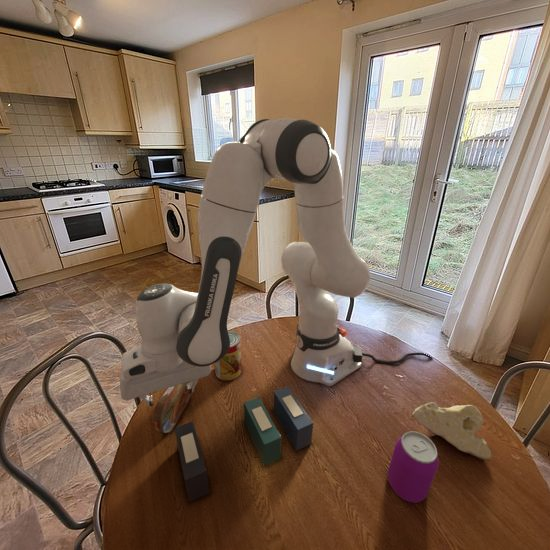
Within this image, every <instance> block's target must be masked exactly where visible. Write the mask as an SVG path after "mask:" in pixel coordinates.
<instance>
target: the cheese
mask: <svg viewBox="0 0 550 550" xmlns="http://www.w3.org/2000/svg"><path fill="white" fill-rule="evenodd" d="M437 403H439V401H438V400H437V401H435V402H434V401H430V402H427V403H425V404H422V405H420V406H419V407H415V409H414V410H413V411H412V413H411V417H412V418H413V419H414V420H415V422H416V423H417V424H419V425H420V426H422V427H423V428H425V429H426V430H427V432H428V434H429V436H432V437H433V436H440V437H441V438H442V439H444V440H445V441H446V442H447V443H449V444H451V445H452V447H455V448H456V449H457V450H458V451H460V452H463V453H466V454H470V455H471V456H474V457H477V458H478V459H480V460H489V459H491V458H492V454H491V449H490V447H489V446H488V445H489V444H488V443H487V441H486V440H485V438H483V437H481V436H476V434H477V432H478V431H479V430H480V429H481V428H482V426H483V420H484V419H483V418H484V417H483V415H482V413H481V412H480V410H479V409H478V408H477V407H476V406H475V405H473V404H466V405H462V404H461V405H457V404H456V405H453V406H451V407H440V406H439V405H438V404H437Z"/></svg>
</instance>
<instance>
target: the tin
mask: <svg viewBox="0 0 550 550" xmlns="http://www.w3.org/2000/svg"><path fill="white" fill-rule="evenodd" d="M189 383H190V381H189V382H186V383H183V384H180V385H176V386H173V387H170V388H166V389H164V390H165V391H164V392H163V394H162V395H161V396H160V398H159V399H158V401H157V402H156V404H155V405H154V406H155V407H154V409H153V413H152V418H151V421H152V425H153V428H154V430H155V431H156V432H158V433H162V434H169V433H171V432H172V430H173V429H175V426H176V424H177V422H178V421H179V419H180V417H181V415H182V414H183V412H184V410H185V409H186V407H187V405H188V404H189V402H190V399H191V396H192V393H189V394H188V392H187V387H186V385H187V384H189Z"/></svg>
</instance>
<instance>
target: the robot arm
mask: <svg viewBox="0 0 550 550" xmlns="http://www.w3.org/2000/svg"><path fill="white" fill-rule="evenodd" d="M272 179H276V180H284V181H288V182H290V183H292V185H293V188H294V201H295V212H296V221H297V229H298V232H299V234H300V236H301V237H302V238H303V240H305V241H292V242H290V243H289V244H288V245H287V246H286V247H285V248H284V250H283V252H282V255H281V259H280V260H281V261H280V263H281V267H282V270H283V271H284V272H285V274H286V275H287V276H288V278H289V279H290V281H291V283H292V285H293V287H294V291H295V294H296V297H297V302H298V323H297V325H296V335H295V336H296V337H295V340H296V341H295V343H296V344H295V349H294V353H293V354H292V355H293V356H292V358H291V360H290V366H291V369H292V371H293V372H294V374H296V376H298V377H299V378H300V379H303V380H305V381H307V382H313V383H320V384H321V385H325V386H329V387H331V386H333V385H336V384H337V383H338V382H340V381H341V380H343V379H344V378H346V377H347V376H348V375H350V374H352V373H353V372H355V371H357V370H358V369H360V368H361V367H362V361H363V357H368V358H371V359H372V361H373V362H376V363H381V364H387V365H388V364H391V365H392V364H399V363H401V362H403V361H404V360H405V359H406V358H408V357H411V356H424V357H427V358H428V359H430V360H433V359H434V358H433V357H432V356H431V355H430V354H428V353H426V352H409V353H406V354H403V356H402V357H401V358H400V359H396V360H382V359H378V358H375V357H374V355H372V354H370V353H364V352H362V349H361V346H359V345H353V343H352V342H351V341H350V340H349V339H348V338H346V337H347V335H348V331H347V330H345V329H344V328H340V326H339V325H338V319H339V305H338V303H337V301H336V300H335V298H334V297H333V296H332V295H331V294H333V295H336V296H339V297H345V298H352V299H354V298H356V297H359V296H360V295H362V294H363V293H364V292H365V291H366V290H367V288H368V286H369V284H370V281H371V269H370V267H369V264H368V263H367V261H365V260H364V259H363V258H362V257H361V255H359V253H358V252H357V250H356V249H355V248H354V246H353V244H352V242H351V240H350V238H349V236H348V233H347V232H348V231H347V230H346V229H347V228H346V223H345V210H344V209H345V208H344V203H345V202H344V201H345V200H344V180H343V173H342V167H341V162H340V158H339V155H338V153H337V152H336V151H335V150H334V149H333V148H332V146H331V142H330V139H329V137H328V134H327V132H326V131H325V129H324V128H323V127H322V126H320V125H319V124H317V123H315V122H313V121H311V120H308V119H298V118H291V117H278V118H271V119H269V118H264V119H263V118H262V119H259V120H258V121H255V122H253V123H252V124H251V125H250V126H249V127H247V128H246V130H245V131H244V133H243V135H242V136H241V138H239V140H238V141H229V142H224V143H222V144H221V145H220V146H219V147H218V148H217V149H216V150H215V153H214V155H213V157H212V158H211V161H210V163H209V166H208V170H207V173H206V175H205V179H204V182H203V185H202V190H201V193H200V199H199V205H198V213H197V236H198V242H199V248H200V255H201V275H200V281H199V286H198V292H194V291H193V292H192V291H187V290H183V289H180V288H178V287H176V286H175V285H173V284H171V283H157V284H153V285H150V286H148V287H146V288H145V289H143V290H141V292H140V293H139V294H138V296H137V297H136V300H135V307H134V310H135V321H136V328H137V332H138V333H139V335H140V339H141V341H140V344H139V345H136V346H135V347H133V348H131V349H129V350H127V351H126V352H123V353H122V355H121V361H120V366H121V368H120V371H119V388H120V390H119V391H120V397H121V399H122V400H124V401H130V400H133V399H137V398H139V399H140V400H141V401H143V402H144V403H146V407H147V408H149V407H152V406H155V403H154V396H153V393H157V392H161V391H163V390H166V389H167V388H170V387H173V386H176V385H180V384H183V383H186V382H189V381H190V383H189V384H187V385H186V387H187V392H188V394H189V393H191V394H193V393H195V386H196V385H197V384H198V380H199V379H201V378H205V377H208V376H210V374H211V373H212V365H215V363H216V362H218V361H219V360H221V359H222V358H223V357H224V356H225V355H226V354H227V352H228V350H229V348H230V338H229V335H228V331H229V330H228V318H229V313H230V309H231V305H232V300H233V296H234V291H235V286H236V283H237V282H236V281H237V278H238V272H239V269H240V265H241V262H242V260H243V259H242V258H243V255H244V252H245V250H246V246H247V243H248V240H249V238H250V234H251V231H252V228H253V225H254V222H255V219H256V215H257V211H258V208H259V203H260V199H261V195H262V192H263V190H264V188H265V187H266V185H267V184H268V183H269V182H270V181H272ZM424 353H425V354H424ZM426 354H427V355H426ZM428 355H429V356H428ZM430 356H431V357H430ZM150 394H151V395H150Z"/></svg>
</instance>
